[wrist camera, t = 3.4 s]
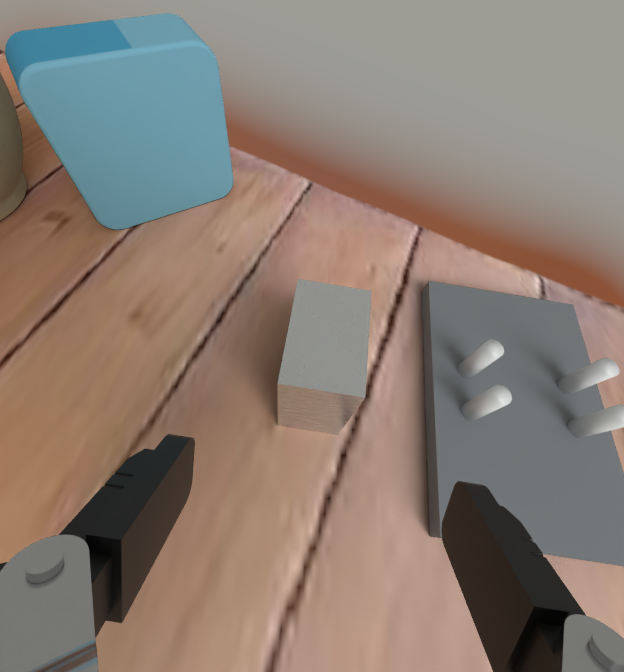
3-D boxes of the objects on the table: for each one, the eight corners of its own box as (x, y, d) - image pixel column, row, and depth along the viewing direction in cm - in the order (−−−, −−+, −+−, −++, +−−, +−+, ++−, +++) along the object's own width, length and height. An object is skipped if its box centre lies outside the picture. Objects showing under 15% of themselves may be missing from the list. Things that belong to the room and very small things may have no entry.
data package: (216, 167, 34) (188, 8, 23) (236, 194, 32) (215, 38, 21) (91, 203, 30) (-11, 32, 19) (106, 236, 28) (4, 70, 18)
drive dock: (429, 536, 20) (473, 542, 15) (421, 291, 28) (448, 250, 24) (627, 566, 20) (727, 581, 15) (559, 314, 28) (610, 277, 24)
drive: (277, 425, 22) (276, 383, 15) (291, 345, 25) (297, 278, 18) (338, 435, 22) (366, 397, 15) (345, 354, 25) (372, 291, 18)
